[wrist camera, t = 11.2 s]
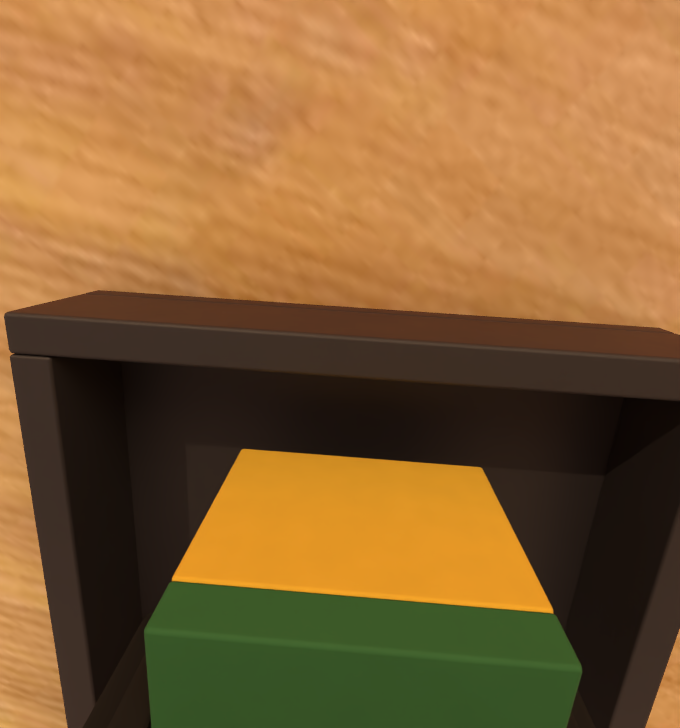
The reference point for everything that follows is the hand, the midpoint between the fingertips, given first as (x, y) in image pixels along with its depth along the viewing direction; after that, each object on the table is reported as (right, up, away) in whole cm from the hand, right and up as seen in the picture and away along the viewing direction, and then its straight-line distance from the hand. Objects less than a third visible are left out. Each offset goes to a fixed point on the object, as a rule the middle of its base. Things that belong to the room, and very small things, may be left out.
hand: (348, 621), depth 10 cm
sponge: (0, 0, +1) cm, 1 cm away
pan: (0, -5, +5) cm, 7 cm away
